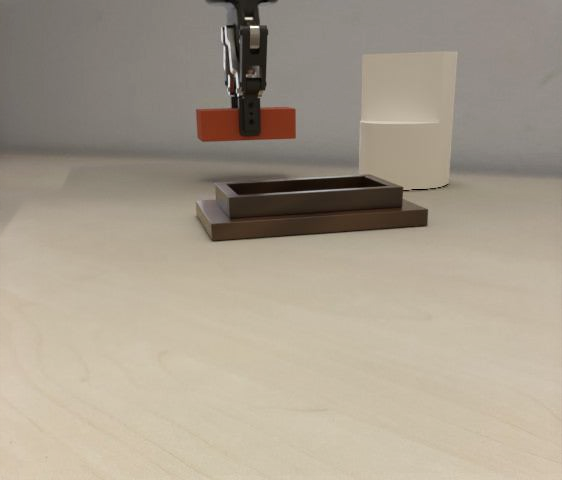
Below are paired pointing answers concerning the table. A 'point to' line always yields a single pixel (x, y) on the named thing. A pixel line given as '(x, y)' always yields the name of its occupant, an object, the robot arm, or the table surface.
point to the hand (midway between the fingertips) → (245, 133)
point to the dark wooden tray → (306, 207)
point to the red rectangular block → (226, 124)
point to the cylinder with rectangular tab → (407, 117)
